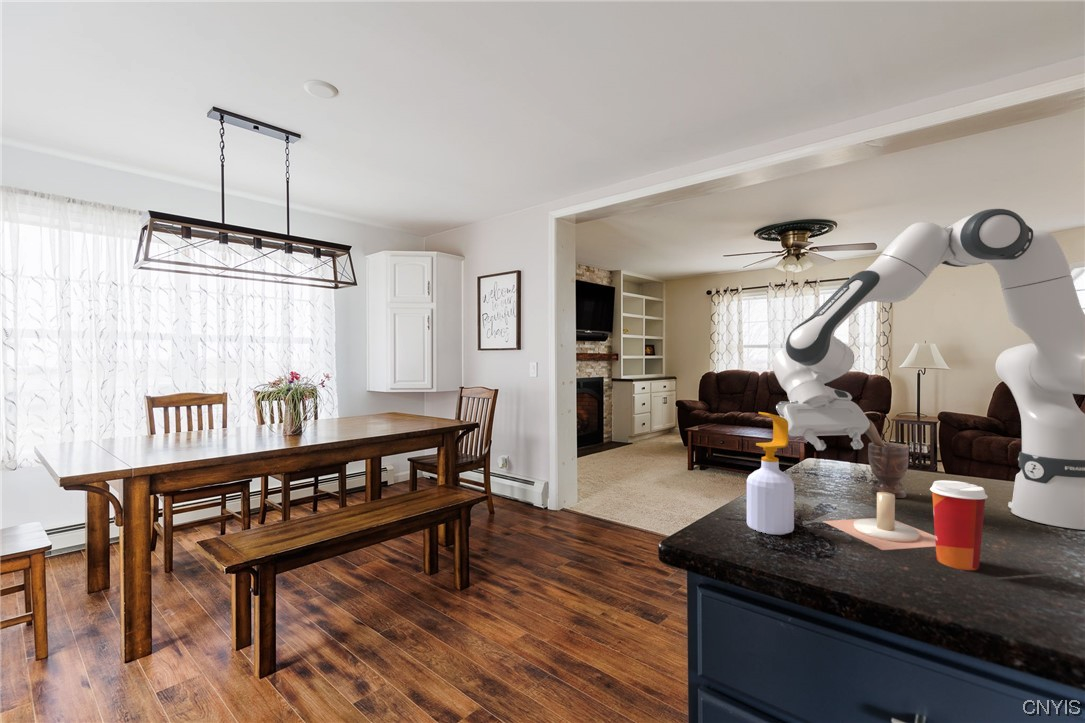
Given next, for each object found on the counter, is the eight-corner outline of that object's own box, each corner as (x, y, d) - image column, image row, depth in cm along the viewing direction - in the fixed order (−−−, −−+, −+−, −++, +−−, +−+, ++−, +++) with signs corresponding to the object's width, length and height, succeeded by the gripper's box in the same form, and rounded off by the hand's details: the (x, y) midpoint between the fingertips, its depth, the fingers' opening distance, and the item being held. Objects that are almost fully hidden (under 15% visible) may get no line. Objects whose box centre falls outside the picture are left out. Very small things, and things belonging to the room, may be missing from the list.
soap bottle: (737, 522, 108) (737, 410, 108) (773, 519, 110) (773, 409, 110) (766, 537, 99) (766, 415, 99) (803, 533, 102) (804, 414, 101)
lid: (886, 521, 107) (887, 485, 107) (934, 540, 96) (934, 500, 96) (841, 524, 105) (841, 488, 105) (884, 544, 95) (884, 503, 94)
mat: (887, 518, 110) (887, 517, 110) (957, 546, 94) (957, 544, 94) (822, 522, 108) (822, 521, 108) (882, 552, 92) (882, 549, 92)
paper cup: (958, 555, 90) (959, 479, 90) (999, 574, 82) (1000, 490, 82) (917, 556, 90) (918, 479, 89) (955, 575, 82) (955, 491, 82)
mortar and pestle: (890, 503, 121) (890, 422, 121) (854, 494, 129) (854, 418, 128) (915, 496, 127) (915, 419, 126) (879, 488, 134) (879, 415, 134)
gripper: (778, 393, 119) (805, 441, 109) (855, 392, 122) (888, 439, 112) (767, 410, 123) (792, 457, 114) (841, 408, 126) (872, 454, 116)
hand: (840, 448), depth 113 cm, fingers open, 8 cm apart
